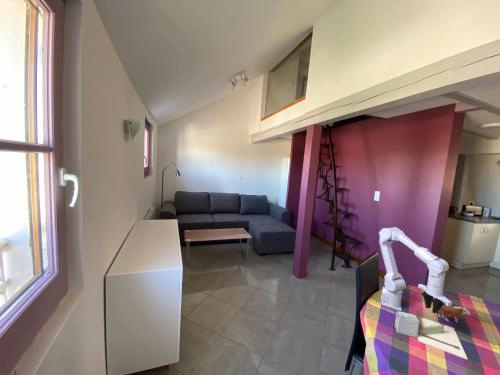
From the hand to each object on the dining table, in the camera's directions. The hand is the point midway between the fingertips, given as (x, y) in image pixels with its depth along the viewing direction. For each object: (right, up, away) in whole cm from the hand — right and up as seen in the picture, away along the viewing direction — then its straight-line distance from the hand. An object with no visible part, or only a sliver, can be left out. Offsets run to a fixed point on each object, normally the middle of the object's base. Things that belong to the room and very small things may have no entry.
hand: (431, 310), depth 102 cm
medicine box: (-15, -9, -2) cm, 18 cm away
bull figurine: (+17, -10, +7) cm, 21 cm away
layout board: (0, -10, -3) cm, 10 cm away
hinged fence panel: (-3, -9, -3) cm, 10 cm away
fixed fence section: (-5, -9, +2) cm, 10 cm away
